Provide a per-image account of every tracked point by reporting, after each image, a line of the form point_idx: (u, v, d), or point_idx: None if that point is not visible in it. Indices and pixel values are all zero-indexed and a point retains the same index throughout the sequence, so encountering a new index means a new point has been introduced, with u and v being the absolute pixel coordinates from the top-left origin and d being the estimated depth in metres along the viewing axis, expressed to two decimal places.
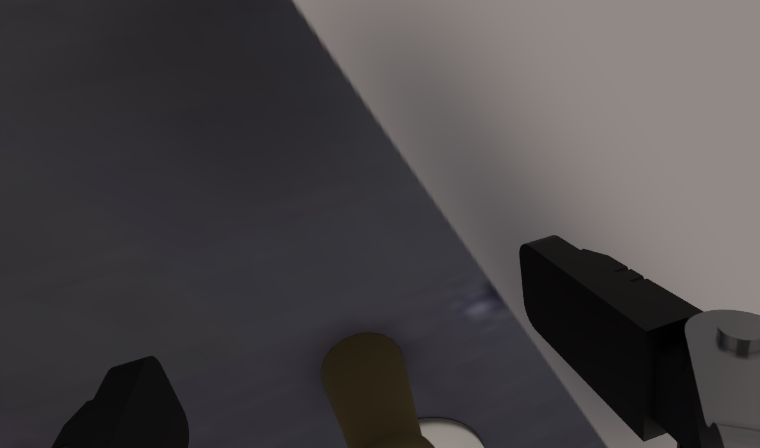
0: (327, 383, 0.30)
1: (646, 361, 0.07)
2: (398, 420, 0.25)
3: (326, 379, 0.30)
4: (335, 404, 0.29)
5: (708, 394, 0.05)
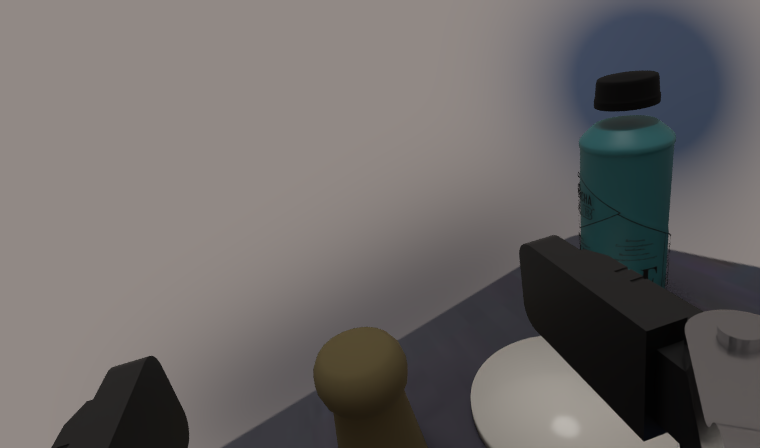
0: None
1: (646, 361, 0.07)
2: None
3: None
4: None
5: (708, 394, 0.05)
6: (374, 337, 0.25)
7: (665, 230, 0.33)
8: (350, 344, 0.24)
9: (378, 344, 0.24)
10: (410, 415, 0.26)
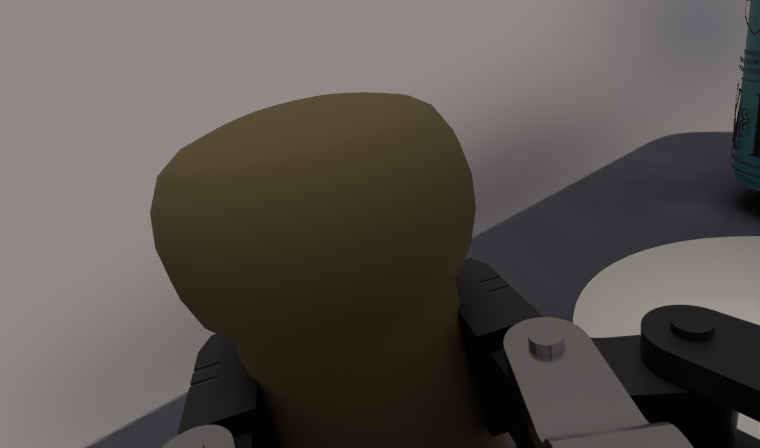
0: None
1: (481, 364, 0.07)
2: None
3: None
4: None
5: (535, 407, 0.06)
6: None
7: None
8: (281, 107, 0.07)
9: (375, 96, 0.07)
10: None
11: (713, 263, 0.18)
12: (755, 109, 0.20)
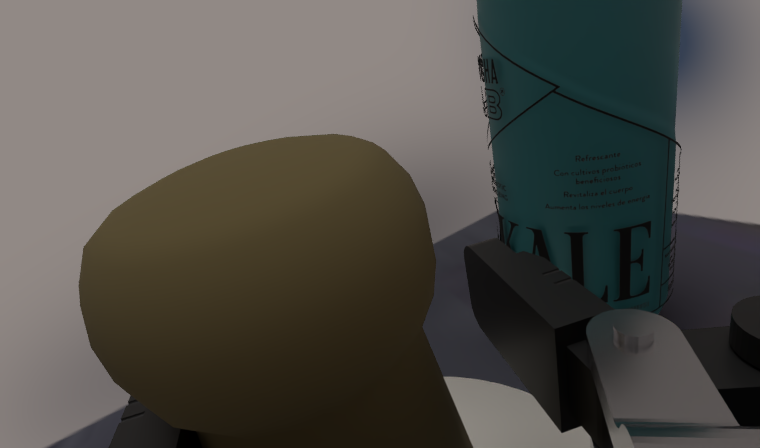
0: None
1: (557, 357, 0.07)
2: None
3: None
4: None
5: (613, 394, 0.05)
6: (311, 139, 0.07)
7: (669, 134, 0.14)
8: (221, 160, 0.07)
9: (322, 146, 0.06)
10: (448, 408, 0.08)
11: None
12: (502, 226, 0.18)
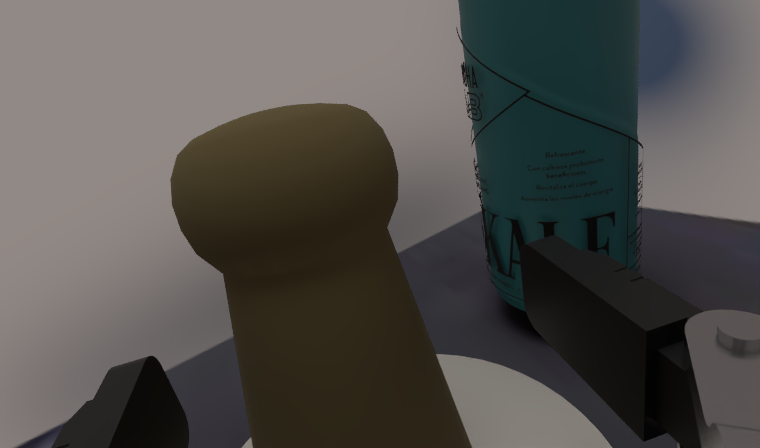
0: None
1: (646, 361, 0.07)
2: None
3: None
4: None
5: (708, 394, 0.05)
6: None
7: (629, 134, 0.16)
8: None
9: None
10: (411, 303, 0.11)
11: None
12: (485, 218, 0.20)
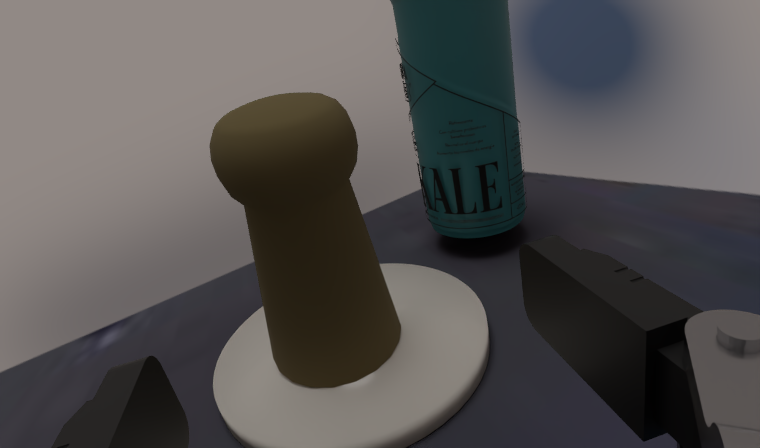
0: (303, 356, 0.18)
1: (646, 361, 0.07)
2: None
3: (302, 362, 0.18)
4: (294, 315, 0.17)
5: (708, 394, 0.05)
6: (308, 95, 0.16)
7: (504, 109, 0.24)
8: (268, 100, 0.16)
9: (310, 99, 0.15)
10: (359, 227, 0.17)
11: None
12: (421, 171, 0.28)
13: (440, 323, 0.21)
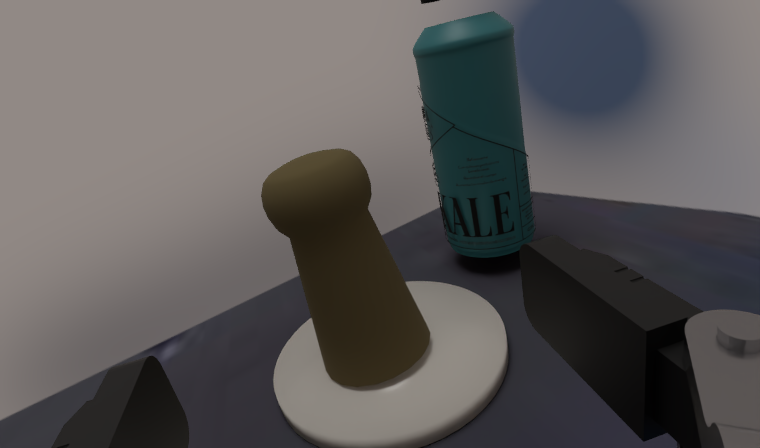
0: (347, 359, 0.22)
1: (646, 361, 0.07)
2: None
3: (347, 364, 0.22)
4: (336, 322, 0.21)
5: (708, 394, 0.05)
6: (328, 150, 0.21)
7: (514, 147, 0.28)
8: (300, 158, 0.21)
9: (330, 152, 0.21)
10: (380, 246, 0.22)
11: None
12: (441, 199, 0.32)
13: (465, 334, 0.24)
